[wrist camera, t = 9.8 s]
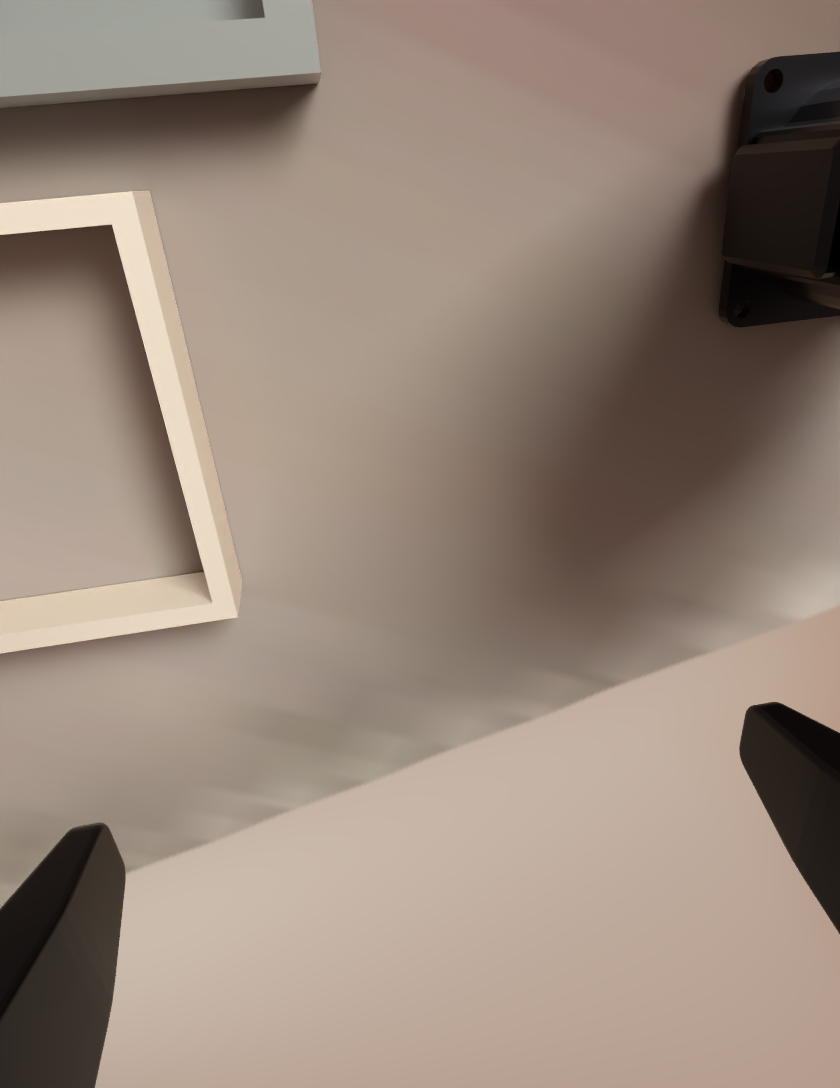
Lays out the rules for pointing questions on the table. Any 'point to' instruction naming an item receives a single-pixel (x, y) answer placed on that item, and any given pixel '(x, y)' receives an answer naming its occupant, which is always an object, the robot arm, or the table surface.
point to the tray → (151, 48)
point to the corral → (182, 414)
